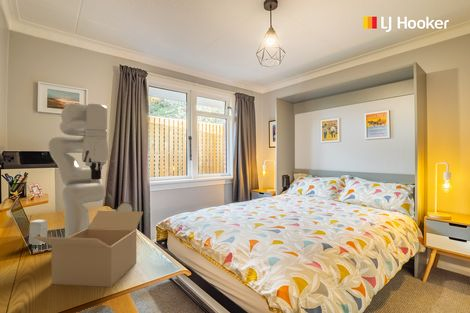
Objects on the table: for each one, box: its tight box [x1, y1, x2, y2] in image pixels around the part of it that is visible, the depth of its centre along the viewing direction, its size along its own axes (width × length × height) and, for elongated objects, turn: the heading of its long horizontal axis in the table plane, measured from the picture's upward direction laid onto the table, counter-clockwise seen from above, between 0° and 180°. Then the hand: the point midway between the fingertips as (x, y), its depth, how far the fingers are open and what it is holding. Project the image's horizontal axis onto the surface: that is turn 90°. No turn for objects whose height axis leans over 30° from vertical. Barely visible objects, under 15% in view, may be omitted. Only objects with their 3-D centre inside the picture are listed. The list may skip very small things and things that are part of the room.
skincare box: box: [28, 219, 49, 246], centre depth 117 cm, size 6×4×12 cm
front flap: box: [33, 236, 110, 248], centre depth 78 cm, size 21×9×1 cm
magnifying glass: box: [115, 201, 134, 211], centre depth 125 cm, size 9×2×20 cm, turn 135°
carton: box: [51, 228, 137, 288], centre depth 91 cm, size 22×18×14 cm
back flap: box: [88, 210, 144, 231], centre depth 103 cm, size 21×9×1 cm
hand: (96, 179), depth 96 cm, fingers closed
